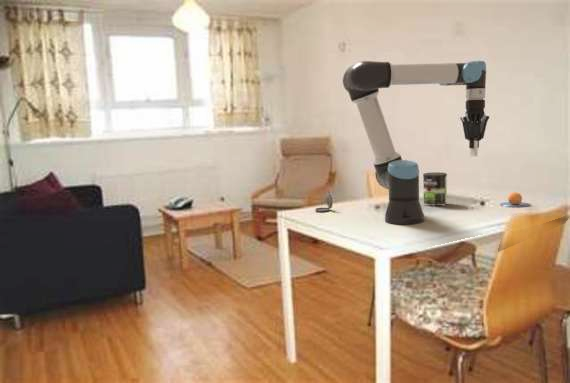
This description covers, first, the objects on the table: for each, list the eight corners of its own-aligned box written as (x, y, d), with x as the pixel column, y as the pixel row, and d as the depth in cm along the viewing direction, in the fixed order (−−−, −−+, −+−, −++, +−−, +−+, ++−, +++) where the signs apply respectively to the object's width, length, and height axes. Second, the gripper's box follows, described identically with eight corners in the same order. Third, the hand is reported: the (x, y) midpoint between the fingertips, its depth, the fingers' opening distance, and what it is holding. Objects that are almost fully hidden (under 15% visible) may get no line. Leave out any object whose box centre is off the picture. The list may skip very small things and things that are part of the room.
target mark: (522, 208, 203) (522, 207, 203) (494, 205, 212) (494, 205, 212) (535, 204, 211) (535, 203, 211) (508, 201, 220) (508, 201, 220)
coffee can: (439, 207, 217) (438, 175, 215) (419, 205, 224) (418, 174, 222) (451, 203, 223) (451, 172, 221) (431, 201, 231) (431, 171, 229)
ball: (527, 201, 209) (516, 205, 207) (518, 203, 214) (508, 207, 212) (521, 189, 209) (511, 193, 208) (513, 192, 215) (503, 196, 213)
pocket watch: (312, 211, 224) (311, 190, 223) (324, 208, 230) (323, 187, 229) (325, 213, 219) (324, 191, 217) (337, 210, 224) (336, 188, 223)
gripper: (468, 99, 198) (466, 157, 201) (494, 98, 202) (492, 155, 205) (456, 100, 205) (455, 156, 209) (482, 99, 209) (480, 154, 212)
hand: (473, 156), depth 207 cm, fingers closed
